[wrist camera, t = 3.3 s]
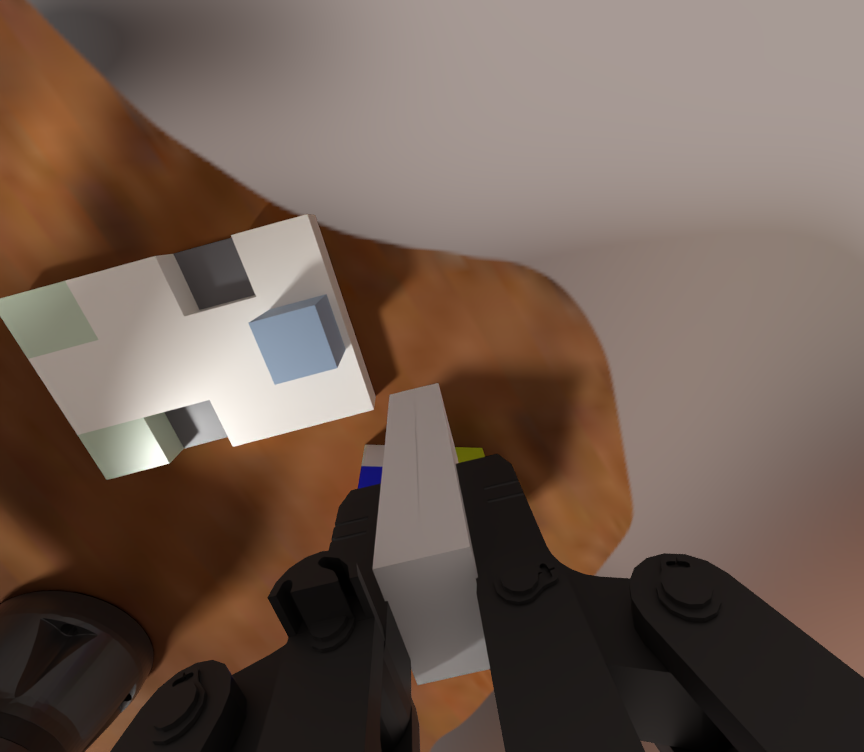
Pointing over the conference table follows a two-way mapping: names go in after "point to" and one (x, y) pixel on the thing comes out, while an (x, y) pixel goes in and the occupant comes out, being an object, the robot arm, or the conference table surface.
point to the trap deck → (186, 347)
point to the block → (299, 339)
